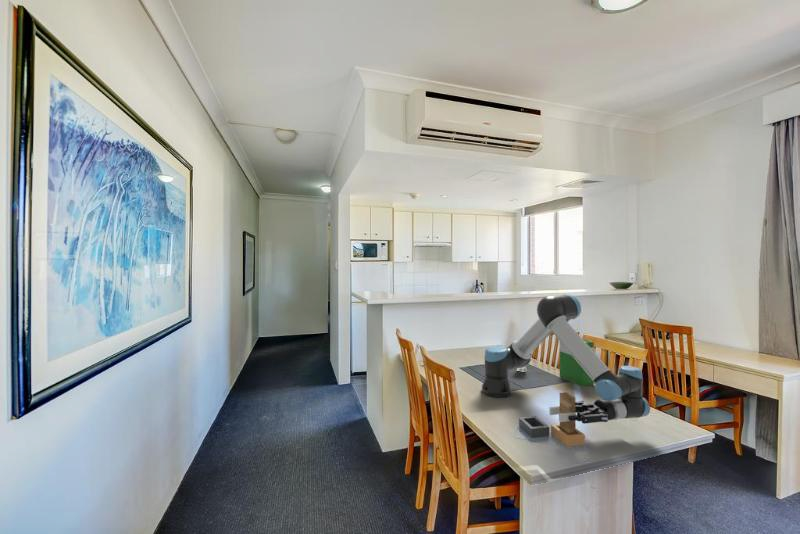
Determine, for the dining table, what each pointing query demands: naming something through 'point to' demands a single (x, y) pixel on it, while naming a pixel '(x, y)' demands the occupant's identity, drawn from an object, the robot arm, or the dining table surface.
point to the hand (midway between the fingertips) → (554, 414)
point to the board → (547, 439)
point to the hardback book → (574, 367)
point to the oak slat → (567, 407)
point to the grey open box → (536, 431)
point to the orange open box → (568, 436)
